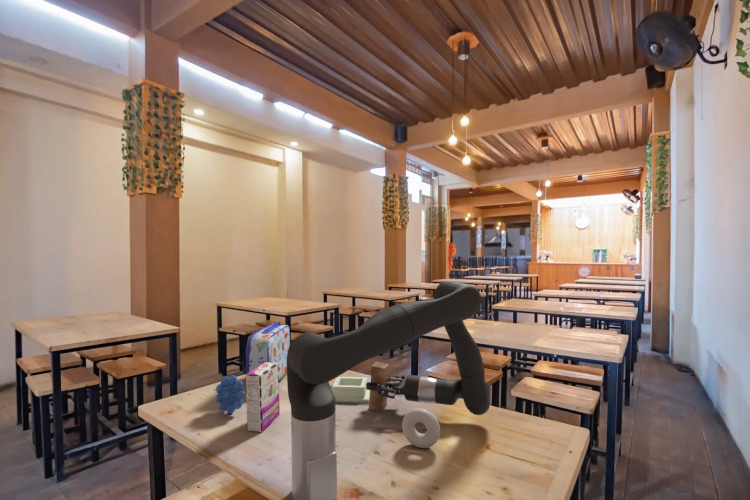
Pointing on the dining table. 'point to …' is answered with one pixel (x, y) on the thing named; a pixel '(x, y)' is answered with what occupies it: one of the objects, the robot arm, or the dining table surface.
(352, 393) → the holder
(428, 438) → the donut
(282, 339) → the lunch box
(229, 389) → the grapes
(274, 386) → the candy bar box
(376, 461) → the dining table surface
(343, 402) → the mat
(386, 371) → the walnut block
